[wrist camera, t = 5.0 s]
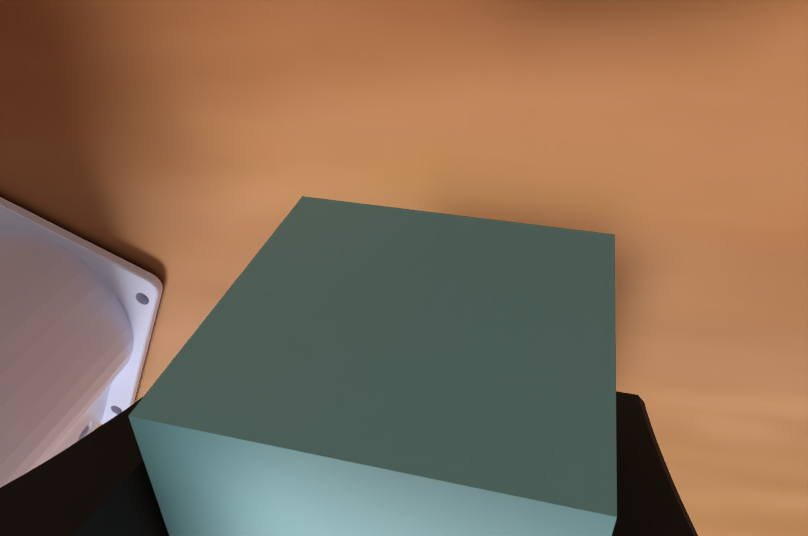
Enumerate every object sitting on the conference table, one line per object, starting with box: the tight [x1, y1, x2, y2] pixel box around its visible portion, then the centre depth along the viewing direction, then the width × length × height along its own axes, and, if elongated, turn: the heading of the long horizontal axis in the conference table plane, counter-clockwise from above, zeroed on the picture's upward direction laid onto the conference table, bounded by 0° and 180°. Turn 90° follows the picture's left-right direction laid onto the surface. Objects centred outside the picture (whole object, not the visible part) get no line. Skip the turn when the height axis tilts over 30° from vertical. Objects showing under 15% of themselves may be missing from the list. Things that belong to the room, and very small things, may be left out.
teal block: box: [128, 196, 617, 536], centre depth 10 cm, size 5×5×5 cm
